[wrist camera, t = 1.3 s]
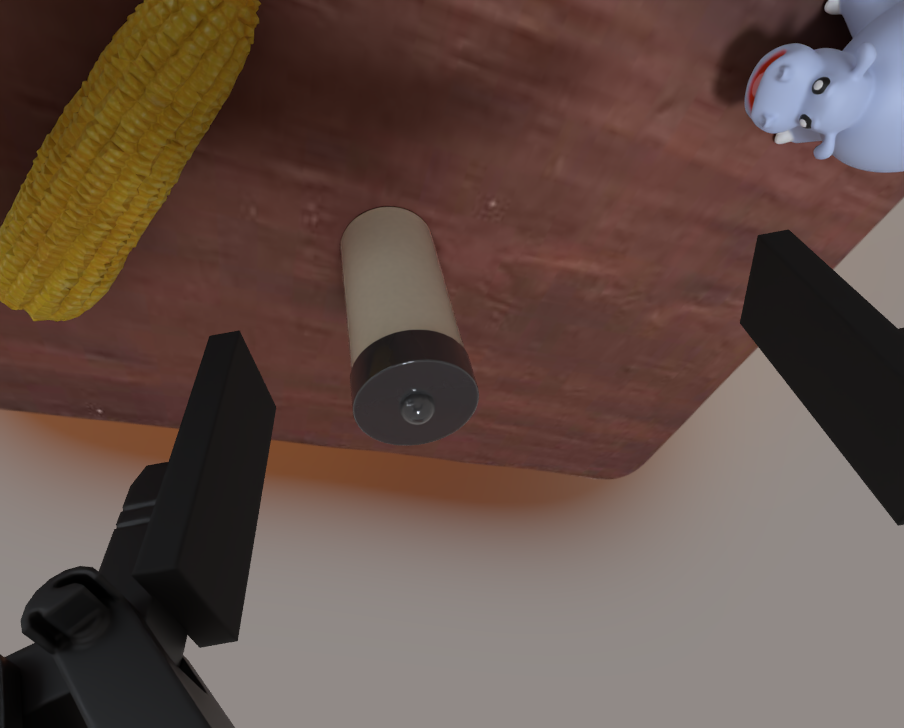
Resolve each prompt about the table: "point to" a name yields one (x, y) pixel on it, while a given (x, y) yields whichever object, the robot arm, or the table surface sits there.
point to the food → (119, 152)
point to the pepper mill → (402, 332)
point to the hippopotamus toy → (839, 90)
